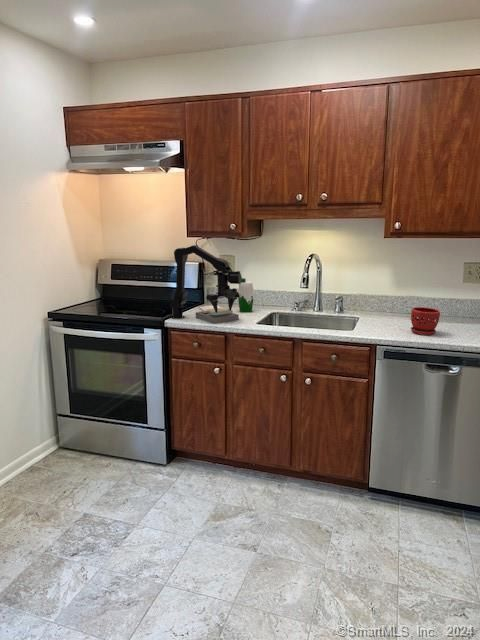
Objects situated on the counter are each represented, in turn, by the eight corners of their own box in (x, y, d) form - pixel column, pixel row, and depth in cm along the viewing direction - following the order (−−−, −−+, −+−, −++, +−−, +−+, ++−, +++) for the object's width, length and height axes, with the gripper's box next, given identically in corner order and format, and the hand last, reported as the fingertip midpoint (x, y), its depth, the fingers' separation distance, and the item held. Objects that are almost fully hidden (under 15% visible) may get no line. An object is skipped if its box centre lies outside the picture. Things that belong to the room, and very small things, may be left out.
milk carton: (238, 309, 289) (238, 277, 285) (252, 309, 289) (253, 277, 285) (238, 312, 281) (238, 279, 276) (253, 312, 281) (253, 279, 276)
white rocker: (199, 310, 267) (199, 307, 266) (216, 307, 274) (216, 304, 273) (204, 314, 263) (205, 310, 262) (222, 311, 270) (222, 308, 269)
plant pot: (420, 337, 223) (422, 312, 220) (404, 330, 235) (406, 307, 232) (443, 335, 226) (446, 311, 223) (427, 329, 238) (429, 306, 235)
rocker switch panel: (195, 317, 267) (195, 312, 267) (218, 314, 277) (218, 308, 276) (214, 323, 252) (214, 318, 251) (238, 319, 261) (238, 314, 260)
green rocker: (208, 313, 259) (208, 310, 259) (226, 311, 266) (226, 307, 266) (214, 316, 255) (214, 313, 254) (232, 313, 262) (232, 310, 261)
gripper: (216, 286, 243) (217, 315, 246) (245, 283, 254) (245, 311, 257) (205, 284, 252) (206, 312, 255) (233, 281, 263) (233, 308, 266)
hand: (223, 311), depth 258 cm, fingers open, 9 cm apart
